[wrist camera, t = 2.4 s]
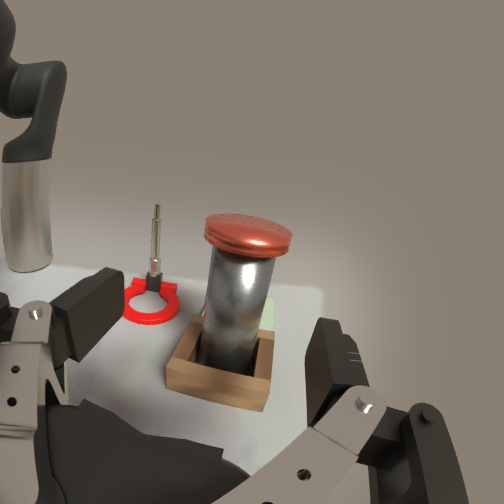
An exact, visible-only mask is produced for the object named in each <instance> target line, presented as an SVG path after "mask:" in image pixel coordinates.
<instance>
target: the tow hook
mask: <svg viewBox="0 0 504 504" xmlns="http://www.w3.org/2000/svg"><path fill="white" fill-rule="evenodd" d="M160 209H161V203H158V202H157V203H155V212H154V218H153V219H152V237H151V257H150V258H149V272H148V273H147V276H146V279H140V278H133V280H132V286H130V287H128V288H126V289H125V290H124V292H125V309H124V313H123V315H122V316H123V317H124V318H126V319H128V320H129V321H132V322H135V323H138V324H145V325H156V324H160V323H164V322H166V321H168V320H170V319H172V318H173V317H174V316H175V315H176V314H177V312H178V311H179V298H178V296H177V295H176V294H175V293H176V291H177V284H175V283H168V282H162V276H163V273H160V264H161V259H160V257H159V249H160V248H159V247H160V231H161V218H160ZM145 289H147V290H150V291H157V292H160V296H162V297H163V298H165V299H166V301H167V302H168V305H167V306H166V308H164V309H163V310H161V311H159V312H156V313H141V312H138V311H136V310H134V309H132V308H131V307H130V306H129V304H128V303H129V300H130V299H131V298H132V297H133V296H135V295H138V294H141V293H144V292H145Z"/></svg>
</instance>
